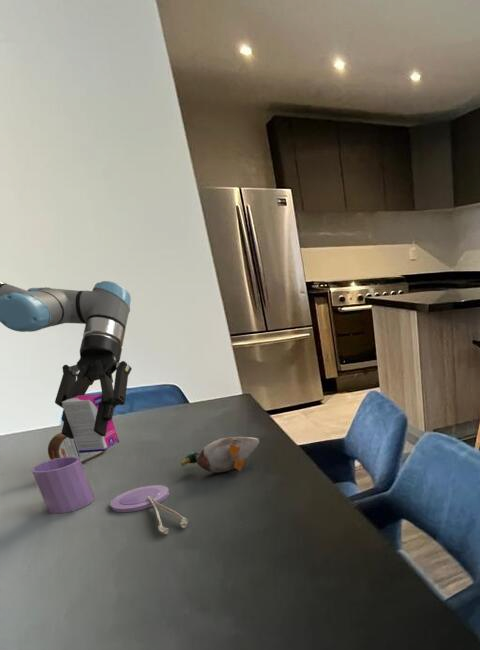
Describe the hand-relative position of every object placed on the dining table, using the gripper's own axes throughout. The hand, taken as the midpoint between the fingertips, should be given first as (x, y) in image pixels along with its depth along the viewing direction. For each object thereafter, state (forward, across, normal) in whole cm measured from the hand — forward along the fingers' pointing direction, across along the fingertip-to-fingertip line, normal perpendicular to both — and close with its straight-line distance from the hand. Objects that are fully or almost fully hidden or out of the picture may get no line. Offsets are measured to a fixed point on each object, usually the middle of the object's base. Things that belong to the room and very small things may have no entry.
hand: (83, 434), depth 103 cm
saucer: (+15, -12, -2) cm, 20 cm away
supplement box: (+1, 0, -6) cm, 6 cm away
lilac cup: (+14, +2, -3) cm, 15 cm away
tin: (-4, +14, -22) cm, 26 cm away
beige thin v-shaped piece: (+20, -20, +4) cm, 29 cm away
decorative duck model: (+5, -25, -13) cm, 29 cm away
